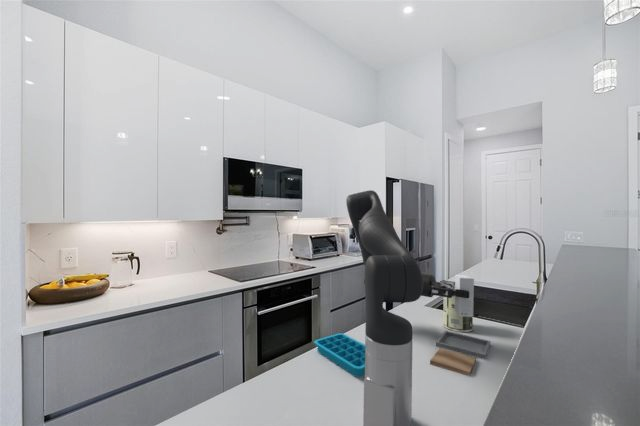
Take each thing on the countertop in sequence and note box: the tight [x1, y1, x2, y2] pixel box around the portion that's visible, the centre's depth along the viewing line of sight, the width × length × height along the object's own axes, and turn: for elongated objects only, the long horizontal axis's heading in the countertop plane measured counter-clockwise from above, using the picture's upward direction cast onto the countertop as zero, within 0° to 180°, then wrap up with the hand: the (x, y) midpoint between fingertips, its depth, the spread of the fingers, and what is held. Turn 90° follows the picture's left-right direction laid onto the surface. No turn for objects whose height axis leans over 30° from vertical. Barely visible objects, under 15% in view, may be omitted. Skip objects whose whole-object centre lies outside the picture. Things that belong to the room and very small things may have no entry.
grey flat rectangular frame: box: [435, 330, 492, 360], centre depth 95 cm, size 12×14×1 cm
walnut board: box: [429, 347, 477, 377], centre depth 83 cm, size 10×10×1 cm
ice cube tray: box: [313, 332, 365, 378], centre depth 85 cm, size 12×20×3 cm, turn 36°
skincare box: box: [454, 274, 475, 318], centre depth 94 cm, size 6×4×12 cm
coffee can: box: [442, 286, 474, 333], centre depth 110 cm, size 10×10×14 cm
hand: (471, 292), depth 93 cm, fingers closed on skincare box, 7 cm apart
